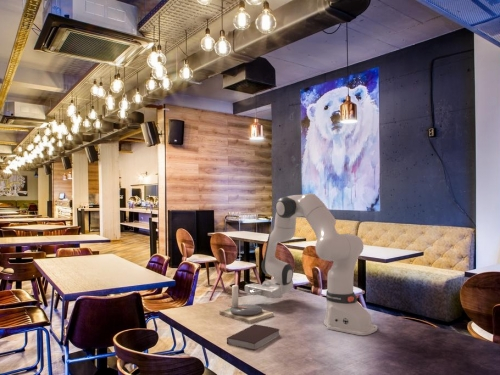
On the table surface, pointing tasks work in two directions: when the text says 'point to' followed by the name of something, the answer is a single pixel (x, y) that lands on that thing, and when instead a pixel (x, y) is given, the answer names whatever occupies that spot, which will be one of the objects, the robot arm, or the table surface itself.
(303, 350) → the table surface
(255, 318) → the plate
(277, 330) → the book
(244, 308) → the grey post stand
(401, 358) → the table surface
